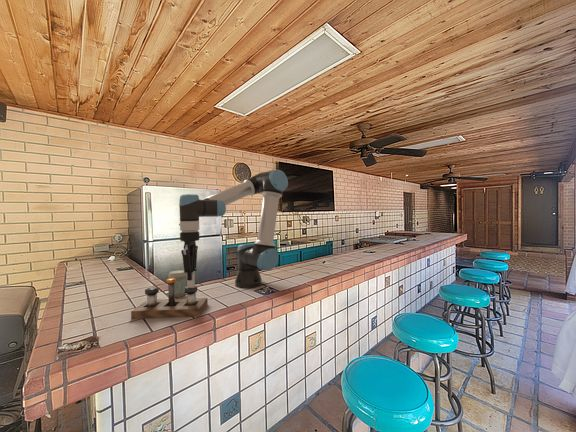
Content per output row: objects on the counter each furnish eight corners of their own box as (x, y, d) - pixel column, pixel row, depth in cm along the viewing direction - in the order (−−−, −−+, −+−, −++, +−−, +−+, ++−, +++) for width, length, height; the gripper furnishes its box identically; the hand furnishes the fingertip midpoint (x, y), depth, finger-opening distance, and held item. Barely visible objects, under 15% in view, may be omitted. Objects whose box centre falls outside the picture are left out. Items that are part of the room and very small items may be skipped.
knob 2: (199, 307, 102) (198, 285, 102) (195, 312, 97) (195, 289, 97) (187, 308, 102) (187, 286, 102) (183, 313, 97) (182, 289, 97)
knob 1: (161, 309, 101) (160, 286, 101) (155, 314, 96) (154, 290, 96) (149, 309, 101) (148, 287, 101) (142, 314, 96) (142, 291, 96)
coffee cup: (164, 297, 116) (164, 272, 116) (179, 291, 124) (179, 268, 123) (176, 299, 112) (175, 274, 112) (191, 294, 120) (190, 270, 119)
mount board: (207, 304, 106) (207, 297, 106) (199, 316, 94) (198, 308, 94) (147, 306, 104) (147, 299, 104) (131, 318, 92) (131, 311, 92)
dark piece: (177, 302, 101) (177, 278, 101) (174, 305, 98) (173, 280, 97) (169, 302, 101) (168, 278, 101) (165, 305, 97) (165, 280, 97)
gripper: (186, 230, 105) (187, 282, 106) (174, 232, 92) (175, 292, 93) (203, 230, 106) (204, 282, 106) (193, 232, 93) (194, 292, 93)
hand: (190, 287), depth 99 cm, fingers closed
